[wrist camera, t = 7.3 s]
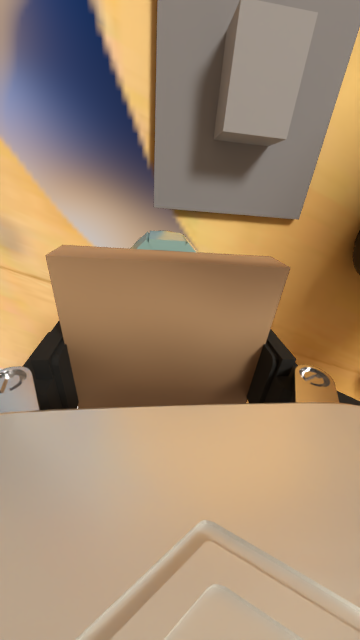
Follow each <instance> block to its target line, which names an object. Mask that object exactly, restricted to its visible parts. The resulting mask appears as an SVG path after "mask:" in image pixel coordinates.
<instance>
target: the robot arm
mask: <svg viewBox="0 0 360 640" xmlns="http://www.w3.org/2000/svg"><path fill="white" fill-rule="evenodd" d="M295 361H296V358H295V357H294V356H293V355H292V354H291V353H290V351H289V350H288V349H287V348H286V347H285V345H284V344H283V343H282V342H281V341H280V340H279V338H278V337H277V336H276V335H275V334H274V332H273V331H272V330H271V329H270V331H269V335H268V338H267V341H266V344H263V347H262V351H261V354H260V357H259V360H258V363H257V366H256V369H255V372H254V375H253V378H252V381H251V384H250V388H249V391H248V394H247V399H248V401H249V403H245V404H205V405H169V406H137V407H108V408H79V409H77V406H78V403H79V401H78V396H77V391H76V387H75V382H74V377H73V372H72V368H71V363H70V358H69V353H68V349H67V344H64V339H63V334H62V330H61V325H60V321H58V323H57V324H56V326H55V327H54V328H53V330H52V331H51V332H49V333H48V334H47V335H46V336H45V337H44V339H43V340H42V341H41V343H40V344H39V345H38V347H37V348H36V349H35V351H34V352H33V353H32V355H31V356H30V357H29V359H28V360H27V361H26V363H25V364H24V365H23V367H21V366H19V367H10V368H5V369H2V370H0V640H360V401H358V400H355V399H353V398H351V397H349V396H347V395H345V394H343V393H340V392H338V391H336V387H335V383H334V381H333V379H332V378H331V376H330V375H329V374H327V373H326V372H325V371H323V370H321V369H319V368H317V367H314V366H310V365H299V366H298V365H297V364H296V363H295Z"/></svg>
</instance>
